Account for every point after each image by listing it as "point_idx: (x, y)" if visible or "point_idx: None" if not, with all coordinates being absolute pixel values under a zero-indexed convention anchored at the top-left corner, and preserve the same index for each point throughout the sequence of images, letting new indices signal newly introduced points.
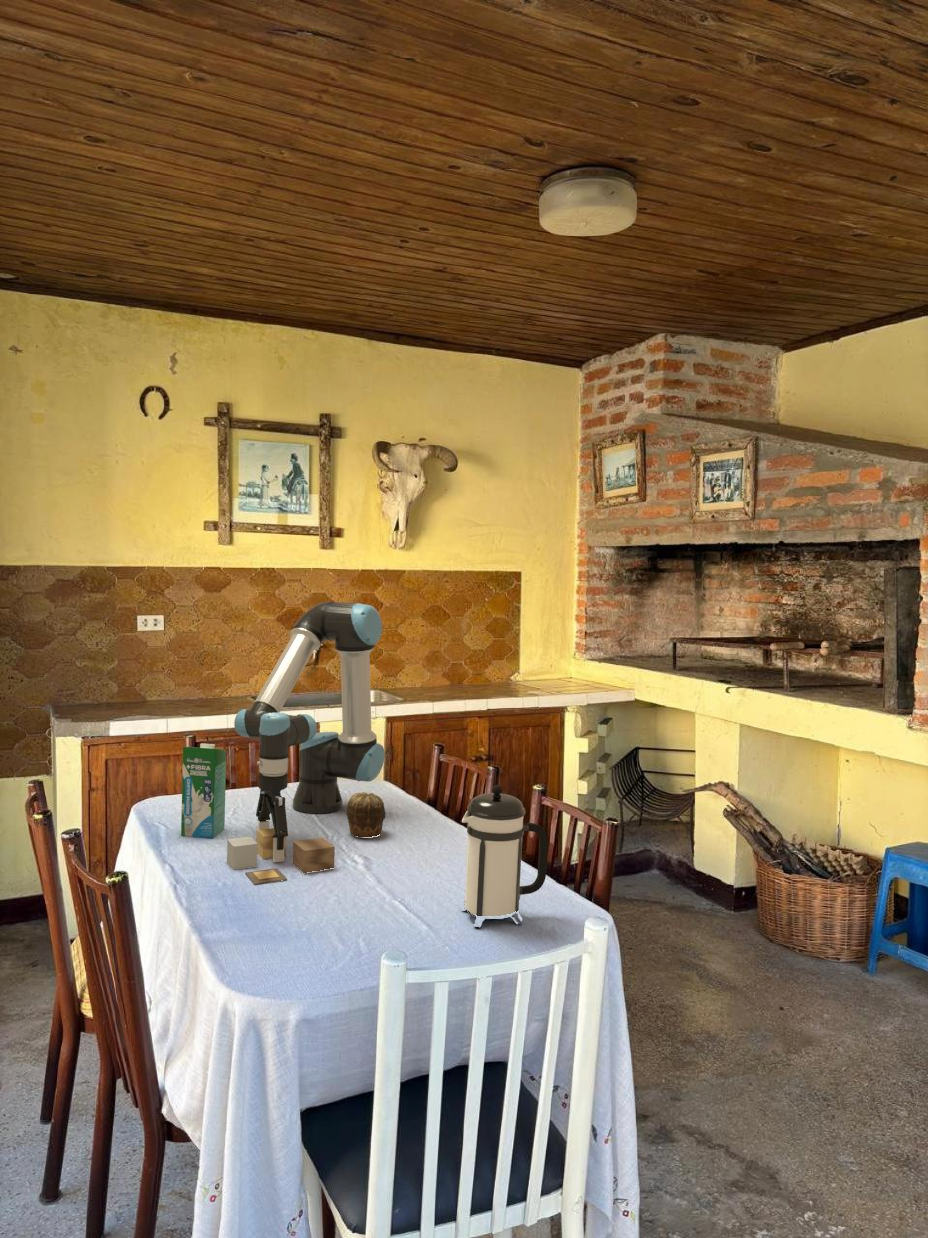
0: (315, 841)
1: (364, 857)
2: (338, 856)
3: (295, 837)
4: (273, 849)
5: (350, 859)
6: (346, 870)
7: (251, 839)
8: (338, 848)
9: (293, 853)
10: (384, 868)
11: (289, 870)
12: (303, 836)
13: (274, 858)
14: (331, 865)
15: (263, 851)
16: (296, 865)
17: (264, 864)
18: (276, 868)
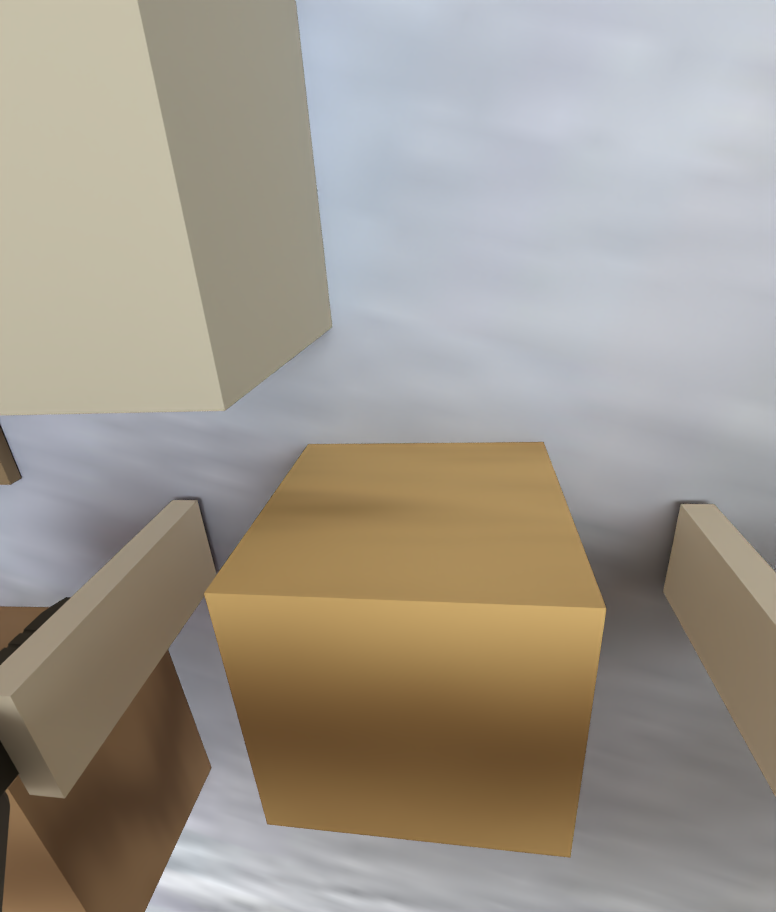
0: (11, 902)
1: (214, 907)
2: (254, 842)
3: (770, 810)
4: (116, 571)
5: (193, 860)
6: None
7: (56, 381)
8: (395, 889)
9: None
10: None
11: (16, 551)
12: (755, 851)
13: (152, 525)
14: None
15: (284, 483)
16: None
17: (165, 420)
18: (4, 477)
